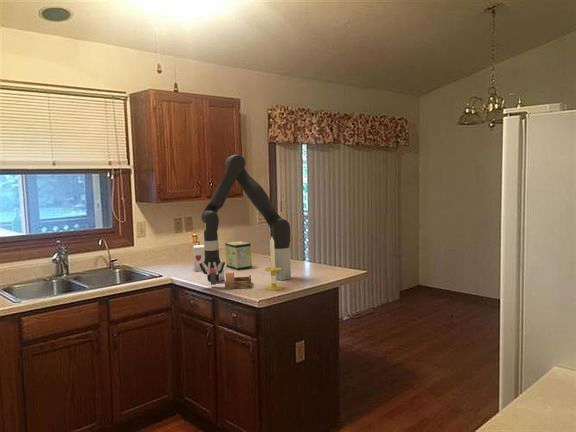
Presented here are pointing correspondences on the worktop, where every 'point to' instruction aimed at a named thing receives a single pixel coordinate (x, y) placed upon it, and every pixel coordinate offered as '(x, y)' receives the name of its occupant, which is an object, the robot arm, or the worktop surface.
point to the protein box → (238, 255)
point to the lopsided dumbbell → (228, 277)
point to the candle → (273, 269)
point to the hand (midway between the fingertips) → (213, 281)
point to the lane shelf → (239, 283)
